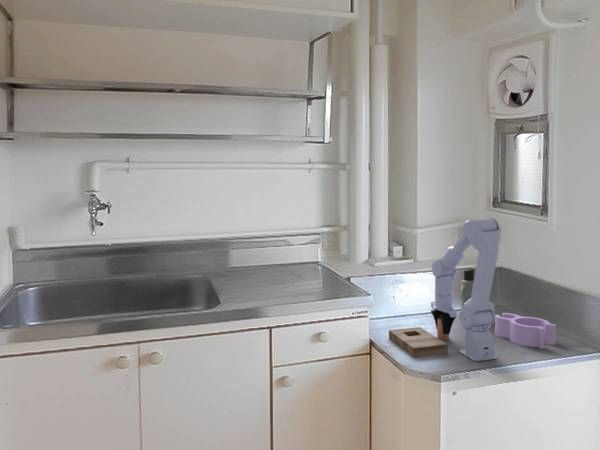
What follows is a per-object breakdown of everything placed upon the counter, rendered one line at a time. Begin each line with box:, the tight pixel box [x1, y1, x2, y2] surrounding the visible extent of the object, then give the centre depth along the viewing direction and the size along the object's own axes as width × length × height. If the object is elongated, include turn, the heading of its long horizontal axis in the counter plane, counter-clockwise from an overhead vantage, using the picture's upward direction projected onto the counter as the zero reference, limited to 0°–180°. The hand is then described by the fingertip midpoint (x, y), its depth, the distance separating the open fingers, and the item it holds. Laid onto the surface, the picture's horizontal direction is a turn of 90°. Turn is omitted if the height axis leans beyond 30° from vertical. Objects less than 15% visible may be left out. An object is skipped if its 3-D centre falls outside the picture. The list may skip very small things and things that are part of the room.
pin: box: [436, 318, 450, 341], centre depth 192 cm, size 4×4×7 cm
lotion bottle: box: [460, 267, 475, 311], centre depth 216 cm, size 6×6×20 cm
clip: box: [494, 312, 557, 350], centre depth 190 cm, size 20×12×7 cm, turn 33°
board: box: [388, 326, 449, 358], centre depth 186 cm, size 20×12×3 cm, turn 14°
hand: (443, 331), depth 192 cm, fingers closed on pin, 4 cm apart
